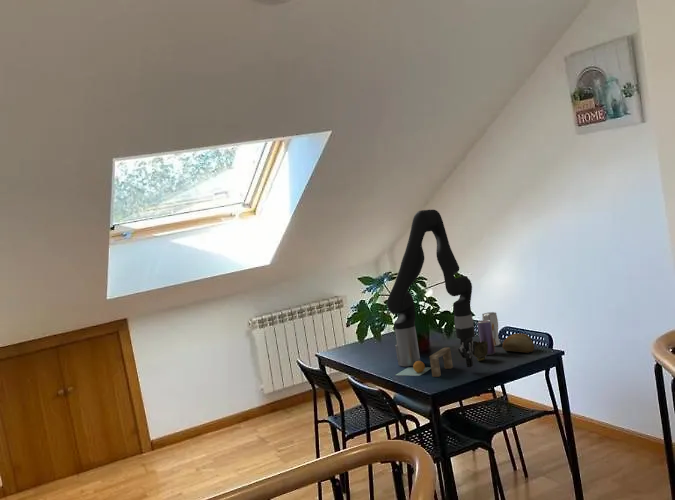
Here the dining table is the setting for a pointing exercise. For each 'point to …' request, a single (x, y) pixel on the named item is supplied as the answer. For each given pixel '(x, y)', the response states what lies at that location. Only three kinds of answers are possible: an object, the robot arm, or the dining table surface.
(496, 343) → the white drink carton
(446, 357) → the bridge
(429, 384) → the dining table surface
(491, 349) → the beverage can
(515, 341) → the bread roll
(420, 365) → the ball
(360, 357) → the dining table surface
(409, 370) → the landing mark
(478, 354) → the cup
